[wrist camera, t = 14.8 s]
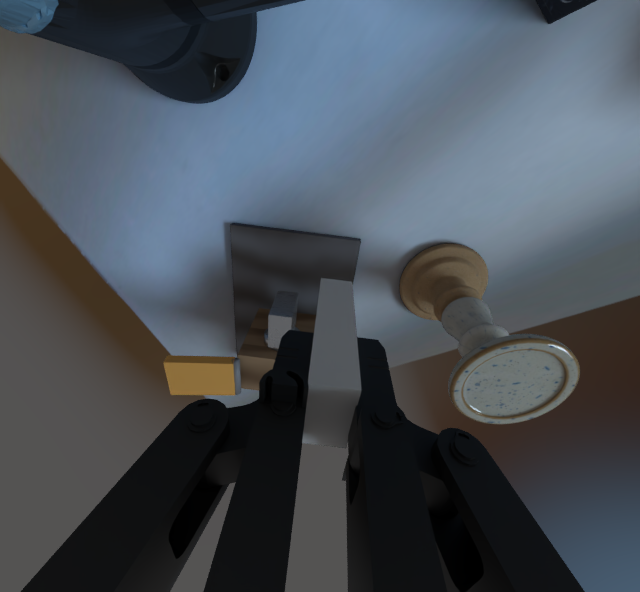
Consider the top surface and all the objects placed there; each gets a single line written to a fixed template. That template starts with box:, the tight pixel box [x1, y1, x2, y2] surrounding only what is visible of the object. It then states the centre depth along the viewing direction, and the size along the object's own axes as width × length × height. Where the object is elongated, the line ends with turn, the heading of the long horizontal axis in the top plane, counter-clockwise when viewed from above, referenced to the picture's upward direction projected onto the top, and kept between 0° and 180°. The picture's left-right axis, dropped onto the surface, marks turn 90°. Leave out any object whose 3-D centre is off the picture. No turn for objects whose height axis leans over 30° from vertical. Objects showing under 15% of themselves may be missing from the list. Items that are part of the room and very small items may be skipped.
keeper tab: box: [164, 355, 241, 395], centre depth 36 cm, size 6×9×1 cm, turn 84°
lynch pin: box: [264, 290, 300, 351], centre depth 40 cm, size 18×5×6 cm, turn 174°
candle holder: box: [399, 243, 580, 424], centre depth 33 cm, size 12×12×20 cm
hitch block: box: [230, 223, 361, 390], centre depth 40 cm, size 24×18×12 cm
